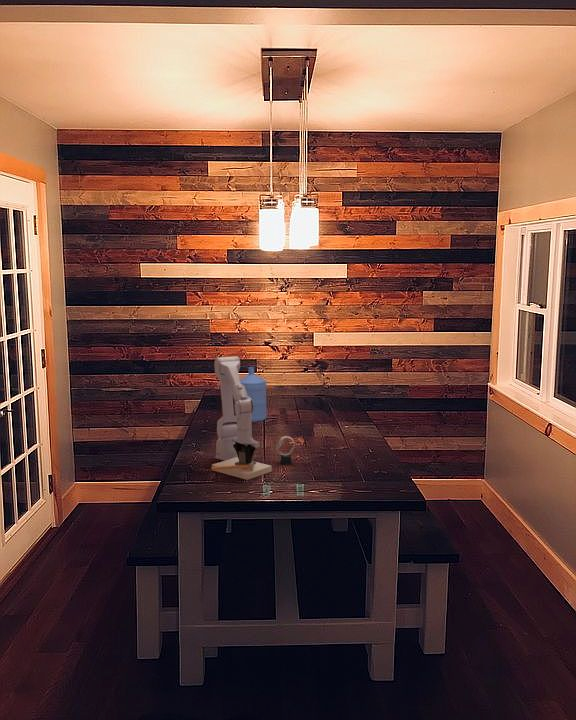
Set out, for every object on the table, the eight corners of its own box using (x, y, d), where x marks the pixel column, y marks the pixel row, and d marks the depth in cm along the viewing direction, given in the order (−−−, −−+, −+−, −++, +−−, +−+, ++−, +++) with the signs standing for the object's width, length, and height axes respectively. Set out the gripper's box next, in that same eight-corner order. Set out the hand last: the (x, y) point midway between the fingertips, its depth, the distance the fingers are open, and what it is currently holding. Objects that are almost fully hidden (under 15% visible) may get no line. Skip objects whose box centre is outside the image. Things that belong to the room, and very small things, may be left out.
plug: (234, 470, 277) (234, 447, 276) (245, 467, 282) (244, 444, 280) (245, 473, 273) (245, 450, 272) (256, 470, 278) (255, 447, 277)
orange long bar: (212, 472, 268) (211, 466, 267) (211, 471, 270) (211, 465, 269) (254, 469, 271) (253, 463, 270) (253, 468, 272) (253, 462, 272)
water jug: (266, 422, 362) (265, 369, 358) (236, 422, 363) (234, 369, 359) (267, 415, 378) (266, 365, 374) (238, 415, 378) (237, 365, 374)
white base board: (212, 470, 280) (212, 464, 280) (236, 462, 291) (236, 457, 290) (247, 479, 267) (247, 474, 267) (271, 471, 278) (271, 465, 277)
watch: (276, 460, 293) (275, 435, 291) (295, 460, 293) (294, 435, 291) (276, 464, 287) (275, 438, 286) (295, 464, 287) (295, 438, 286)
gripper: (264, 429, 273) (265, 462, 275) (238, 424, 283) (239, 456, 285) (252, 433, 268) (252, 466, 270) (226, 427, 278) (227, 460, 280)
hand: (245, 461), depth 277 cm, fingers closed on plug, 4 cm apart
